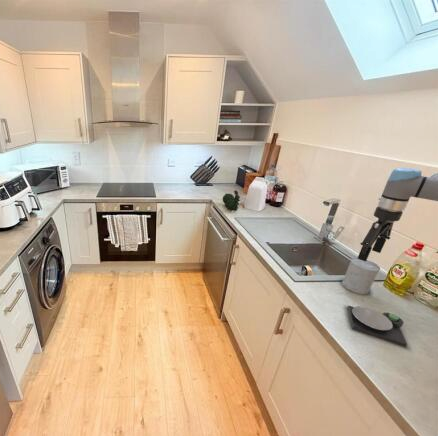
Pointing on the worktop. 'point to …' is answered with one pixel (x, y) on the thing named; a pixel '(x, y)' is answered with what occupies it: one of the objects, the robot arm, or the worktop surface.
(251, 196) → the milk
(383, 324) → the pan
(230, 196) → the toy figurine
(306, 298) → the worktop surface
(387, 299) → the worktop surface
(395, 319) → the tare button
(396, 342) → the scale
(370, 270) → the silver metal canister
